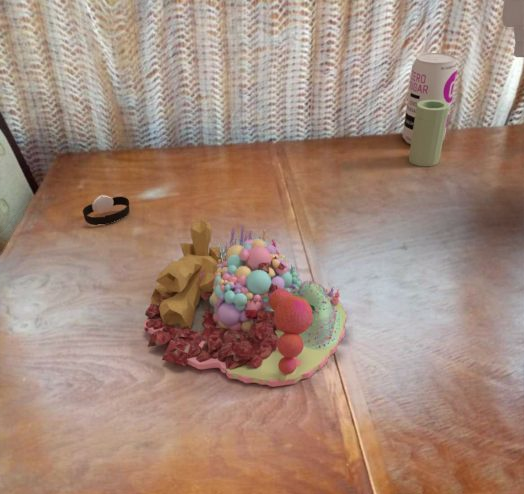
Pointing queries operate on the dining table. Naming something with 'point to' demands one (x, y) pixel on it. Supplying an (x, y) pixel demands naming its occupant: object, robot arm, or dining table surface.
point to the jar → (428, 132)
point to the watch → (105, 209)
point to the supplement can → (429, 85)
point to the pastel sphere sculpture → (243, 312)
